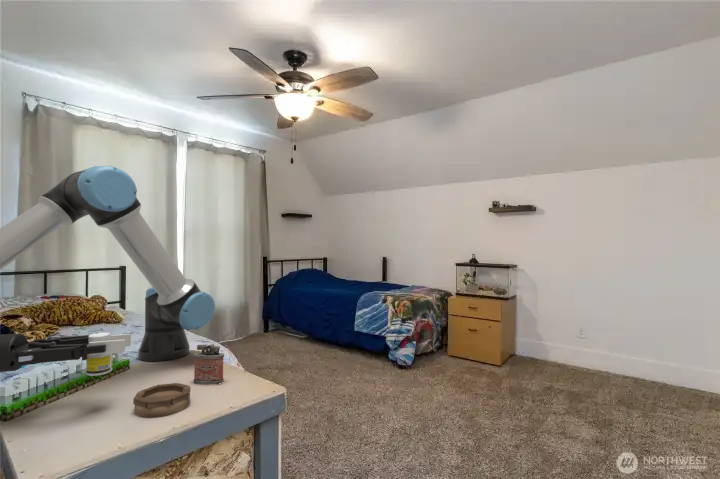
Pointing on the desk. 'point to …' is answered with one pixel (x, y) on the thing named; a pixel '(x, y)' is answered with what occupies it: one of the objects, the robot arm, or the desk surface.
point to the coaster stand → (162, 400)
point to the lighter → (208, 365)
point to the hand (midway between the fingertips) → (127, 342)
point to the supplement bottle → (99, 357)
